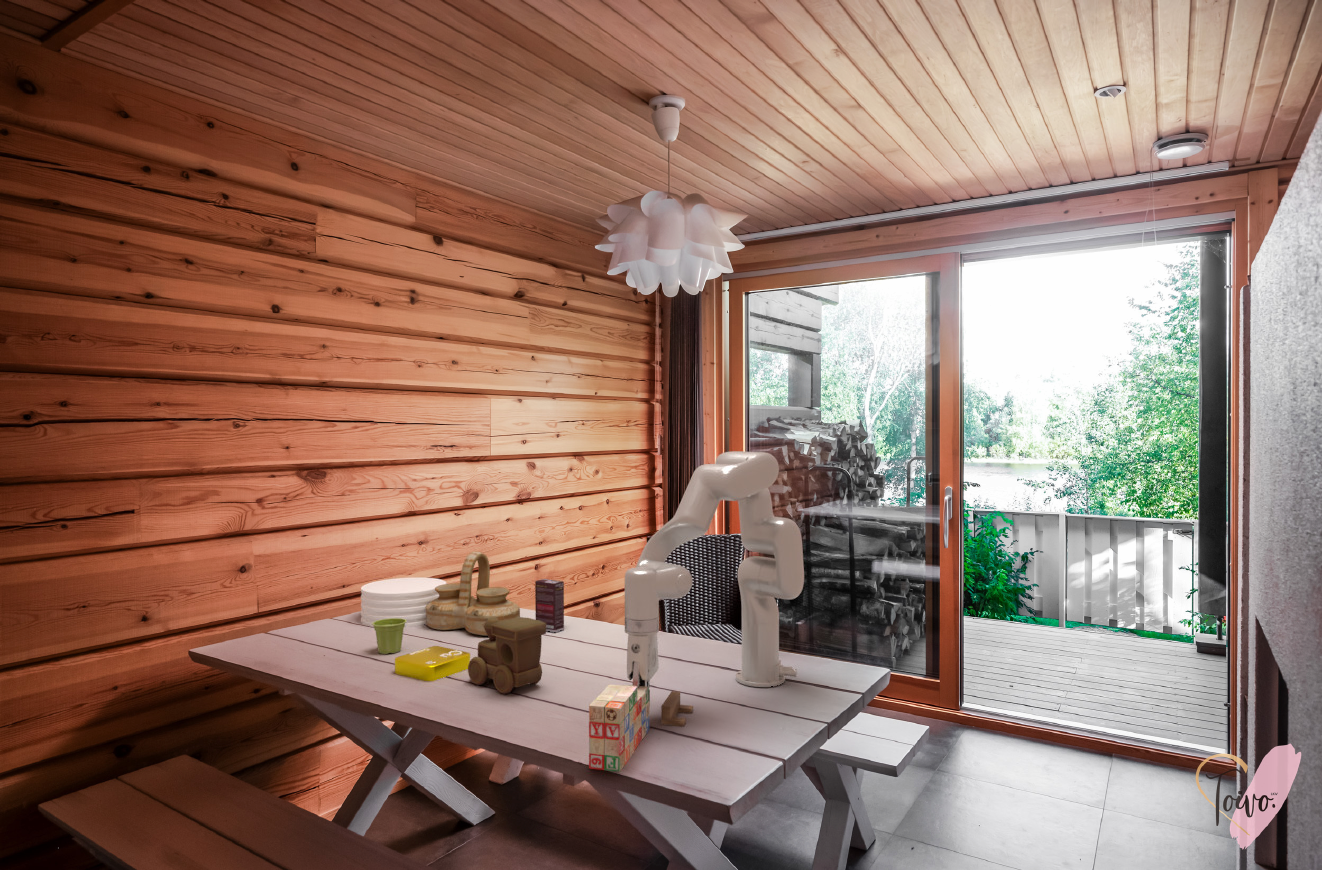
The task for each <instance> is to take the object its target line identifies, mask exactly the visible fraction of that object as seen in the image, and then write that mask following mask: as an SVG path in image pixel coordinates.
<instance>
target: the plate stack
mask: <svg viewBox="0 0 1322 870" xmlns="http://www.w3.org/2000/svg"><path fill="white" fill-rule="evenodd" d="M443 584H447V581H445V580H444V579H440V578H436V577H435V578H433V577H420V576H418V577H398V578H397V577H396V578H390V579H389V578H387V579H381V580H378V581H377V580H376V581H372V582H369V583H365V584H364V585H362V586H361V587H360V593H361V594H360V601H361V602H360V608H361V609H360V616H361V617H360V623H361V624H362V625H364V626H368V627H372V628H374V626H373V625H372V623H373V622H375V621H378V620H382V619H389V618H401V619H405V620H406V623H405V627H404V628H411V627H419V626H425V625H427V621H426V609H425V607H426V605H427V604H428V603H430V602H431V601H433V600H434V599H436V598H438V597H439V594H438V593H437V592H436V591H435V587H437V586H439V585H443ZM424 624H425V625H424Z"/></svg>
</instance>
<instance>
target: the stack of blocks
mask: <svg viewBox="0 0 1322 870" xmlns="http://www.w3.org/2000/svg"><path fill="white" fill-rule="evenodd" d="M649 689H650V688H649V687H644V686H640V687H639V688H637V687H636V686H632V685H630V684H629V685H628V684H627V685H626V684H621V685H618V684H608V685H607V686H606V687H605V689H603V691H602V692H601V693H600V694H599V695H598V696H597V697H596V698H595V699H594V700H593V701H592V702H591V703H590V704H589V705H588V713H589V714H588V718H589V719H588V720H589V721H588V737H589V738H588V740H589V741H588V745H589V746H588V747H589V748H588V749H589V751H588V760H589V761H588V769H592V770H599V771H608V772H609V771H610V772H617V771H620V772H621V771H622V770H623V768H624V766H625V765H626V764H627V763H628V762H629V760H630V759H631V757H632V756H633V755H632V754H634V753H635V751H634V750H636V749H637V748H638V746H639V745H640V743H641V742H642V741H643V739H644V738H645V737H646V735H647V734H648V732H649V731H650V707H649ZM646 733H647V734H646ZM640 741H641V742H640ZM627 761H628V762H627Z"/></svg>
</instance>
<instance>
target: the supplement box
mask: <svg viewBox="0 0 1322 870" xmlns="http://www.w3.org/2000/svg"><path fill="white" fill-rule="evenodd" d="M564 582H565V581H564V580H556V579H547V578H542V579H541V578H540V579H538V580H535V583H534V585H535V587H534V590H535V591H534V592H535V593H534V597H535V604H534V605H535V620H539V621H542V622H545V623H546V632H548V631H550V632H549V633H554V632H556V633H559V632H561V631H560V630H562V631H564V630H565V592H564V591H565V589H564V588H565V583H564ZM558 631H559V632H558Z"/></svg>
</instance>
